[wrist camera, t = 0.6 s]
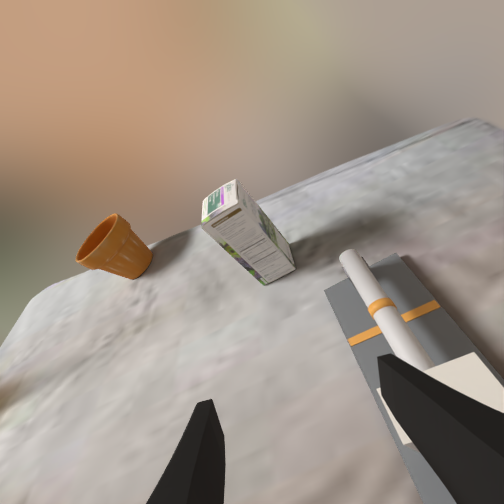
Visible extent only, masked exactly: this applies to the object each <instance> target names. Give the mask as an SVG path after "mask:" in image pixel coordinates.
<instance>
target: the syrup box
mask: <svg viewBox="0 0 504 504" xmlns="http://www.w3.org/2000/svg"><path fill="white" fill-rule="evenodd" d="M201 228H202V229H203V230H204V231H205V232H206V233H207V234H209V235H210V236H211V237H212V238H213V239H214V240H215V241H216V242H217V243H218V244H219V245H220V246H221V247H223V248H224V249H225V250H226V251H227V252H228V253H229V254H230V255H231V256H232V257H233V258H234V259H235V260H237V261H238V262H239V263H240V264H241V265H242V266H243V267H244V268H245V269H246V270H247V271H248V272H249V273H251V274H252V275H253V276H254V277H255V278H256V279H257V280H258V281H259V282H260V283H261V284H262V285H266V284H268V283H270V282H272V281H274V280H276V279H278V278H280V277H282V276H284V275H286V274H288V273H290V272H291V271H293V270H295V269H296V267H295V263H294V260H293V257H292V254H291V250H290V247H289V243H288V242H287V241H286V239H285V238H284V237H283V236H282V234H281V233H280V232H279V231H278V229H277V228H276V227H275V226H274V224H273V223H272V222H271V221H270V219H269V218H268V217H267V215H266V214H265V213H264V212H263V210H262V209H261V208H260V207H259V205H258V204H257V203H256V202H255V201H254V199H253V198H252V197H251V196H250V194H249V193H248V192H247V191H246V189H245V188H244V187H243V186H242V184H241V183H240V182H239V180H238V179H234V180H233V181H230V182H229V183H227V184H225V185H223V186H221V187H220V188H218V189H217V190H215V191H214V192H213V193H211V194H210V195H209V196H208V197H207V198H205V200H203V209H202V223H201Z"/></svg>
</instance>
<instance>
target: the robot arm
mask: <svg viewBox="0 0 504 504" xmlns="http://www.w3.org/2000/svg"><path fill="white" fill-rule="evenodd" d="M377 361H378V370H379V379H380V388H381V396H382V397H383V399H384V401H385V402H386V404H387V406H388V408H389V409H390V411H391V413H392V414H393V416H394V417H395V419H396V421H397V422H398V423H399V425H400V426H401V428H402V429H403V430H404V432H405V433H406V434H407V436H408V437H409V438H410V440H411V441H412V442H413V444H414V445H415V446H416V448H417V449H418V450H419V452H420V453H421V454H422V456H423V457H424V458H425V460H426V461H427V462H428V464H429V465H430V467H431V468H432V469H433V471H434V472H435V473H436V475H437V476H438V477H439V479H440V480H441V481H442V483H443V484H444V486H445V487H446V488H447V490H448V491H449V493H450V494H451V496H452V497H453V499H454V500H455V502H456V503H457V504H504V413H502V412H500V411H498V410H496V409H493V408H491V407H489V406H487V405H485V404H483V403H481V402H478V401H476V400H474V399H472V398H470V397H468V396H466V395H464V394H462V393H460V392H459V391H457V390H455V389H453V388H451V387H449V386H447V385H445V384H444V383H442V382H440V381H438V380H436V379H434V378H433V377H431V376H429V375H427V374H426V373H424V372H422V371H420V370H419V369H417V368H415V367H414V366H412V365H410V364H408V363H407V362H405V361H403V360H402V359H400V358H398V357H397V356H395V355H393V354H391V353H389V354H386V355H382V356H378V357H377ZM224 486H225V442H224V434H223V431H222V428H221V425H220V422H219V419H218V416H217V413H216V410H215V407H214V403H213V400H212V399H210V400H206V401H202V402H198V403H197V405H196V406H195V409H194V411H193V413H192V416H191V418H190V420H189V423H188V425H187V427H186V429H185V431H184V433H183V436H182V438H181V440H180V442H179V444H178V446H177V448H176V450H175V452H174V454H173V456H172V458H171V460H170V462H169V464H168V465H167V467H166V469H165V471H164V473H163V475H162V477H161V478H160V480H159V482H158V484H157V486H156V487H155V489H154V491H153V493H152V494H151V496H150V498H149V499H148V501H147V503H146V504H224Z"/></svg>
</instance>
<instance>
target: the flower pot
mask: <svg viewBox="0 0 504 504" xmlns="http://www.w3.org/2000/svg"><path fill="white" fill-rule="evenodd" d="M130 228H131V227H130V224H129V223H128V222H127V221H126V220H125V219H123V218H122V217H121V216H119V215H118V214H112V215H110V216H109V217H107V218H106V219H105V220H104V221H102V222H101V223H100V224H99V225H98V226H97V227H96V228H95V229H94V230H93V231H92V233H91V234H90V235H89V236H88V238H87V239H86V240H85V241H84V243H83V245H82V246H81V248H80V249H79V251H78V253H77V256H76V261H77V262H78V263H79V264H81V265H83V266H85V267H87V268H90V269H92V270H95V269H101V270H104V271H107V272H110V273H113V274H116V275H119V276H122V277H125V278H129V279H135V278H137V277H139V276H140V275H141V274H142V273H143V272H144V271H145V270H146V269H147V268H148V266H149V264H150V263H151V260H152V257H153V254H152V252H151V251H150V250H149V248H148V247H147V246H146V245H145V244H144V243H143V242H142V241H141V240H140V239H139V237H138V236H137V235H136V234H135V233H134V232H133V231H132V230H131V229H130Z"/></svg>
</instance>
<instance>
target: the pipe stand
mask: <svg viewBox="0 0 504 504" xmlns="http://www.w3.org/2000/svg"><path fill="white" fill-rule="evenodd" d="M339 260H340V262H341V263H342V265H343V267H342V268H343V270H344V272H345V273H346V275H347V277H348V278H347V279H345V280H343V281H341V282H339V283H337V284H335V285H333V286H332V287H330V288H328V289H326V290H324V292H325V294H326V296H327V298H328V300H329V302H330V304H331V307H332V309H333V311H334V313H335V315H336V317H337V319H338V322H339V324H340V326H341V328H342V330H343V332H344V334H345V337H346V339H347V341H348V343H349V345H350V347H351V349H352V351H353V354H354V356H355V358H356V360H357V362H358V364H359V366H360V369H361V371H362V373H363V375H364V377H365V379H366V381H367V384H368V386H369V388H370V390H371V392H372V394H373V396H374V399H375V401H376V403H377V405H378V407H379V409H380V411H381V414H382V416H383V418H384V420H385V422H386V424H387V426H388V429H389V431H390V433H391V435H392V437H393V439H394V441H395V444H396V446H397V448H398V450H399V452H400V454H401V456H402V459H403V461H404V463H405V465H406V467H407V469H408V471H409V473H410V476H411V478H412V480H413V482H414V484H415V486H416V488H417V491H418V493H419V495H420V497H421V499H422V501H423V503H424V504H457V503H456V502H455V500H454V499H453V497H452V496H451V494H450V493H449V491H448V490H447V488H446V487H445V486H444V484H443V483H442V481H441V480H440V479H439V477H438V476H437V475H436V473H435V472H434V471H433V469H432V468H431V467H430V465H429V464H428V462H427V461H426V460H425V458H424V457H423V456H422V454H421V453H419V452H417V451H415V450H413V449H411V448H409V447H407V446H405V445H403V443H402V441H401V439H400V437H399V435H398V433H397V431H396V429H395V427H394V425H393V423H392V421H391V418H390V416H389V414H388V412H387V410H386V408H385V406H384V404H383V402H382V400H381V398H380V396H379V394H378V392H377V390H376V389H377V388H380V379H379V370H378V361H377V357H378V356H382V355H386V354H389V353H391V354H393V355H395V356H397V357H398V358H400V359H402V360H403V361H405V362H407V363H408V364H410V365H412V366H414V367H415V368H417V369H419V370H420V371H425V370H428V369H430V368H433V367H435V366H438V365H441V364H443V363H446V362H449V361H451V360H454V359H457V358H459V357H462V356H464V355H467V354H470V353H472V352H475V354H476V355H477V356H478V357H479V358H480V360H481V361H482V362H483V363H484V364H485V366H486V367H487V368H488V369H489V370H490V372H491V373H492V374H493V375H494V377H495V378H496V379H497V380H498V381H499V383H500V384H501V385H502V386H503V387H504V379H503V378H502V377H501V376H500V374H499V373H498V372H497V371H496V370H495V369H494V367H493V366H492V365H491V364H490V363H489V362H488V360H487V359H486V358H485V357H484V356H483V355H482V353H481V352H480V351H479V350H478V349H477V347H476V346H475V345H474V344H473V343H472V342H471V340H470V339H469V338H468V337H467V336H466V335H465V333H464V332H463V331H462V330H461V329H460V327H459V326H458V325H457V324H456V323H455V322H454V320H453V319H452V318H451V317H450V316H449V315H448V313H447V312H446V311H445V310H444V309H443V308H442V306H441V305H440V304H439V303H438V302H437V300H436V299H435V298H434V297H433V296H432V295H431V293H430V292H429V291H428V290H427V289H426V288H425V286H424V285H423V284H422V283H421V282H420V280H419V279H418V278H417V277H416V276H415V275H414V273H413V272H412V271H411V270H410V269H409V268H408V266H407V265H406V264H405V263H404V262H403V261H402V259H401V258H400V257H399V256H398V255H397V253H394V254H392V255H391V256H389V257H387V258H385V259H383V260H381V261H379V262H377V263H375V264H373V265H372V266H370V267H369V266H368V264H367V263H366V261H365V260H364V258H363V257H360V255H359V254H358V252H357V251H356V250H355V249H349V250H346V251H344V252H343V253H342V254H341V255H340V257H339Z"/></svg>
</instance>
